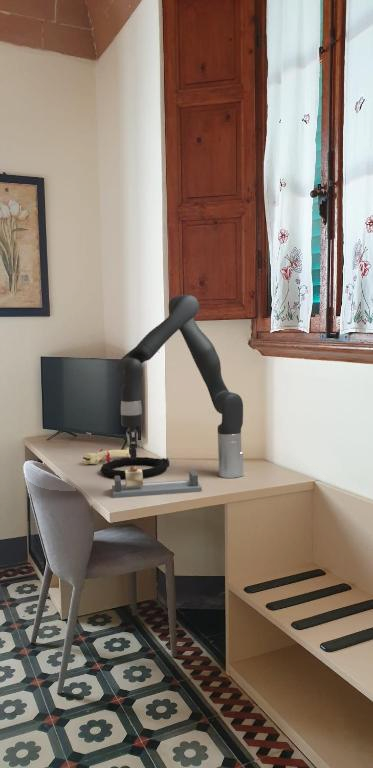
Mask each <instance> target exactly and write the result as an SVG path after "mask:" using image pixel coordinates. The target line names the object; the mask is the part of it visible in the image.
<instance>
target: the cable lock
mask: <svg viewBox="0 0 373 768" xmlns="http://www.w3.org/2000/svg"><path fill="white" fill-rule="evenodd" d="M170 463H171V462H170V460H169V458H168V457H166V458H164V457H163V458H160V457H159V458H154V457H147V456H145V457H142V456H141V457H140V456H138V457H137V459H134V460H131V459H130V457H125V458H124V457H123V458H120V459H113V460H110V462H108V461H107V462H106V463H103V464H102V466H101V467H100V473H101V474H102V475H103V476H104V477H106V478H109V479H115V477H114V476H119V475H120V479H121V480H126V477H125V470H121V469H119V470H118V469H117V468H122V467H131V466H146V467H149V466H150V468H145V469H142V472H143V479H147V478H152V477H156V476H158V475H161V474H163V473H166V471H167V468H168V467H170Z"/></svg>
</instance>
